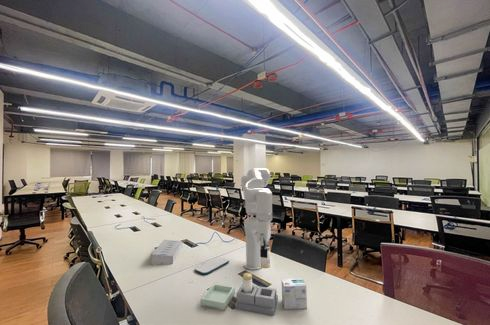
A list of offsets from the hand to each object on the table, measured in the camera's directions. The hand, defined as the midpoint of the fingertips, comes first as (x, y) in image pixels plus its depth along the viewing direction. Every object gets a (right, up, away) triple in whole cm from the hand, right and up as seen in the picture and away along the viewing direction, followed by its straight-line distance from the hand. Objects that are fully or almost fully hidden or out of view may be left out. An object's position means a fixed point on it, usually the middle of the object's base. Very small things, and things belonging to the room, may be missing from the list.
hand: (265, 254), depth 102 cm
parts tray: (-23, -24, +4) cm, 33 cm away
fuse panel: (-4, -24, 0) cm, 24 cm away
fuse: (-8, -22, +2) cm, 23 cm away
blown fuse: (0, -5, 0) cm, 5 cm away
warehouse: (-68, -27, +60) cm, 94 cm away
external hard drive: (-31, -26, +40) cm, 57 cm away
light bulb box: (+14, -24, -1) cm, 27 cm away
